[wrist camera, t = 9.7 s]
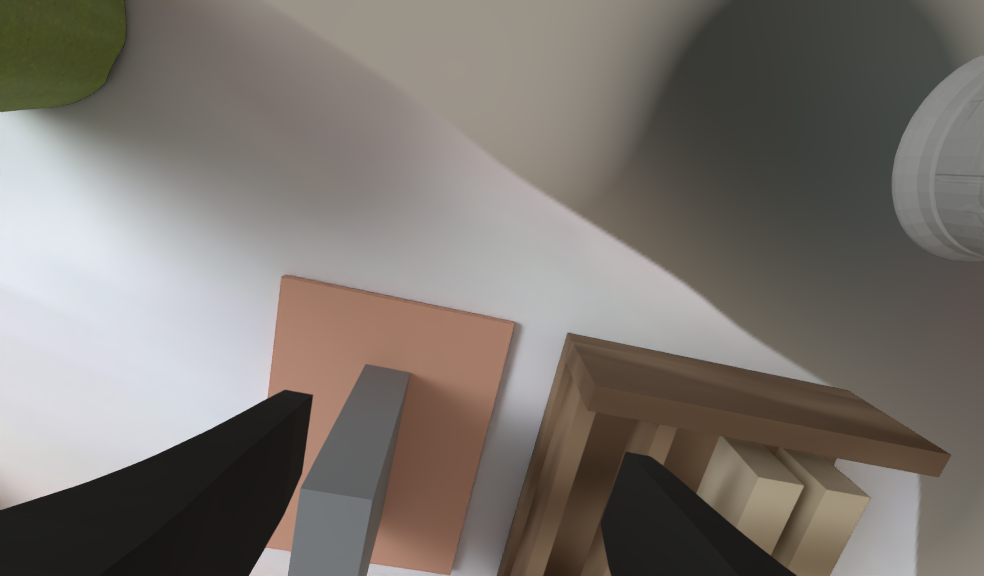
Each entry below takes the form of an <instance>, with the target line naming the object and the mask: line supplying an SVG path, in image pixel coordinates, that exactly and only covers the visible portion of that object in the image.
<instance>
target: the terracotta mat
mask: <svg viewBox="0 0 984 576" xmlns="http://www.w3.org/2000/svg"><path fill="white" fill-rule="evenodd" d="M513 329H514V322H513V321H508V320H503V319H498V318H493V317H489V316H484V315H479V314H474V313H469V312H464V311H459V310H454V309H450V308H445V307H440V306H435V305H430V304H425V303H420V302H416V301H411V300H406V299H401V298H396V297H391V296H386V295H381V294H377V293H372V292H367V291H362V290H357V289H352V288H347V287H343V286H338V285H333V284H328V283H323V282H318V281H313V280H309V279H304V278H299V277H294V276H289V275H284V276H282V277H281V285H280V294H279V303H278V312H277V321H276V329H275V338H274V347H273V356H272V365H271V373H270V382H269V391H268V398H270V397H271V396H273V395H275V394H277V393H279V392H281V391H283V390H290V391H296V392H301V393H307V394H312V395H313V401H312V408H311V415H310V422H309V429H308V436H307V443H306V450H305V457H304V464H303V471H302V475H301V477H300V480H299V482H298V484H297V487H296V489H295V491H294V494H293V496H292V498H291V500H290V503H289V505H288V507H287V509H286V511H285V514H284V516H283V518H282V520H281V521H280V523H279V525H278V527H277V528H276V530H275V532H274V533H273V535H272V537H271V539H270V540H269V542H268V544H267V545H266V547H265V548H272V549H279V550H285V551H291V550H292V543H293V536H294V529H295V522H296V515H297V508H298V501H299V494H300V488H301V486H302V484H303V482H304V480H305V478H306V477H307V475H308V473H309V471H310V469H311V467H312V465H313V463H314V461H315V459H316V457H317V456H318V454H319V452H320V450H321V448H322V446H323V444H324V442H325V440H326V438H327V437H328V435H329V433H330V431H331V429H332V427H333V425H334V423H335V421H336V419H337V417H338V416H339V414H340V412H341V410H342V408H343V406H344V404H345V402H346V400H347V398H348V397H349V395H350V393H351V391H352V389H353V387H354V385H355V383H356V381H357V379H358V377H359V376H360V374H361V372H362V370H363V368H364V366H365V364H369V365H374V366H379V367H385V368H390V369H395V370H400V371H405V372H410V377H409V382H408V387H407V392H406V397H405V402H404V407H403V412H402V417H401V422H400V427H399V432H398V437H397V442H396V447H395V452H394V457H393V462H392V467H391V472H390V477H389V482H388V487H387V492H386V497H385V502H384V507H383V512H382V517H381V521H380V525H379V529H378V533H377V537H376V541H375V545H374V548H373V552H372V556H371V560H370V563H372V564H379V565H385V566H392V567H399V568H405V569H412V570H419V571H425V572H432V573H439V574H445V575H450V574H451V570H452V566H453V562H454V558H455V554H456V550H457V546H458V542H459V539H460V535H461V531H462V527H463V523H464V519H465V515H466V511H467V507H468V504H469V500H470V496H471V492H472V488H473V484H474V480H475V476H476V472H477V469H478V465H479V461H480V457H481V453H482V449H483V445H484V441H485V437H486V434H487V430H488V426H489V422H490V418H491V414H492V410H493V406H494V403H495V399H496V395H497V391H498V387H499V383H500V379H501V375H502V371H503V368H504V364H505V360H506V356H507V352H508V348H509V344H510V340H511V336H512V333H513Z"/></svg>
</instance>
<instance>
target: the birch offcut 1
mask: <svg viewBox="0 0 984 576" xmlns="http://www.w3.org/2000/svg"><path fill="white" fill-rule="evenodd" d="M803 487H804V485H803V484H802V483H801V482H800V481H799V480H798V479H797V478H796V477H795V476H794V475H793V474H792V473H791V472H790V471H789V470H788V469H787V468H786V467H785V466H784V465H783V464H782V463H781V462H780V461H779V460H778V459H777V458H776V457H775V456H774V455H773V454H772V453H771V452H770V451H769V450H768V449H767V448H766V447H765V446H764V445H763V444H761V443H755V442H750V441H745V440H740V439H734V438H729V437H724V436H720V437H719V439H718V441H717V444H716V446H715V449H714V451H713V454H712V456H711V459H710V461H709V464H708V466H707V468H706V471H705V473H704V476H703V478H702V481H701V483H700V486H699V488H698V490H697V493H696V494H697V495H698V496H699V497H701V498H702V499H703V500H704V501H705V502H706V503H708V504H709V505H710V506H711V507H712V508H713V509H714V510H716V511H717V512H718V513H719V514H720V515H721V516H723V517H724V518H725V519H726V520H727V521H729V522H730V523H731V524H732V525H733V526H735V527H736V528H737V529H738V530H739V531H741V532H742V533H743V534H744V535H745V536H747V537H748V538H749V539H750V540H752V541H753V542H754V543H755V544H757V545H758V546H759V547H760V548H762V549H763V550H764V551H765V552H767V553H768V554H769V555H771V554H772V552H773V550H774V548H775V545H776V543H777V541H778V539H779V537H780V535H781V533H782V531H783V529H784V527H785V525H786V523H787V520H788V518H789V516H790V514H791V512H792V510H793V508H794V506H795V504H796V502H797V500H798V497H799V495H800V493H801V491H802V489H803Z"/></svg>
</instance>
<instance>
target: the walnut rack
mask: <svg viewBox="0 0 984 576" xmlns="http://www.w3.org/2000/svg"><path fill="white" fill-rule="evenodd" d="M720 436H724V437H729V438H734V439H740V440H745V441H750V442H755V443H761V444H763V445H764V446H765V447H766V448H767V449H768V450H769V451H770V452H771V453H772V454H773V455H774V456H775V455H776V453H777V451H778V449H779V447H782V448H787V449H792V450H797V451H803V452H808V453H813V454H819V455H822V456H823V457H824V458H825V459H826V460H828V461H829V462H830V463H831V464H832V465H834V463H835V461H836V459H837V458H840V459H845V460H850V461H855V462H861V463H866V464H871V465H877V466H882V467H887V468H892V469H898V470H903V471H908V472H913V473H919V474H925V475H929V476H935V477H939V476H940V474H941V472H942V470H943V469H944V467H945V465H946V463H947V462H948V460H949V458H950V456H951V455H950V454H949V453H947V452H946V451H944V450H942V449H941V448H939V447H938V446H936V445H934V444H933V443H931V442H930V441H928V440H926V439H925V438H923V437H922V436H920V435H919V434H917V433H915V432H914V431H912V430H911V429H909V428H907V427H906V426H904V425H903V424H901V423H899V422H898V421H896V420H895V419H893V418H891V417H890V416H888V415H886V414H885V413H883V412H882V411H880V410H879V409H877V408H875V407H874V406H872V405H871V404H869V403H867V402H866V401H864V400H863V399H861V398H859V397H858V396H856V395H855V394H853V393H851V392H850V391H848V390H843V389H839V388H834V387H829V386H824V385H819V384H815V383H810V382H805V381H800V380H795V379H790V378H785V377H780V376H776V375H771V374H766V373H761V372H756V371H751V370H746V369H742V368H737V367H732V366H727V365H722V364H717V363H712V362H707V361H703V360H698V359H693V358H688V357H683V356H678V355H673V354H669V353H664V352H659V351H654V350H649V349H644V348H639V347H634V346H630V345H625V344H620V343H615V342H610V341H605V340H600V339H596V338H591V337H586V336H581V335H576V334H571V333H567V337H566V340H565V344H564V347H563V350H562V354H561V357H560V361H559V364H558V368H557V371H556V374H555V378H554V381H553V385H552V388H551V392H550V395H549V399H548V402H547V405H546V409H545V412H544V416H543V419H542V423H541V426H540V430H539V433H538V436H537V440H536V443H535V447H534V450H533V454H532V457H531V460H530V464H529V467H528V471H527V474H526V478H525V481H524V485H523V488H522V491H521V495H520V498H519V502H518V505H517V509H516V512H515V516H514V519H513V522H512V526H511V529H510V533H509V536H508V540H507V543H506V546H505V550H504V553H503V557H502V560H501V564H500V567H499V571H498V574H497V576H611V573H610V570H609V566H608V561H607V556H606V552H605V546H604V541H603V535H602V529H601V520H602V517H603V515H604V512H605V509H606V506H607V503H608V500H609V497H610V495H611V492H612V489H613V486H614V483H615V480H616V478H617V475H618V472H619V469H620V466H621V463H622V460H623V458H624V455H625V452H630V453H636V454H641V455H647V456H651V457H652V458H654V459H655V460H656V461H658V462H659V463H660V464H662V465H663V466H664V467H665V468H667V469H668V470H669V471H670V472H672V473H673V474H674V475H675V476H676V477H678V478H679V479H680V480H681V481H682V482H683V483H684V484H686V485H687V486H688V487H689V488H690V489H691V490H693V491H694V492H695V493H697V490H698V488H699V486H700V483H701V481H702V478H703V476H704V473H705V471H706V468H707V466H708V464H709V461H710V459H711V456H712V454H713V451H714V449H715V446H716V444H717V441H718V439H719V437H720Z"/></svg>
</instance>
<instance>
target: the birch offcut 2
mask: <svg viewBox="0 0 984 576" xmlns="http://www.w3.org/2000/svg"><path fill="white" fill-rule="evenodd" d="M775 457H776V458H777V459H778V460H779V461H780V462H781V463H782V464H783V465H784V466H785V467H786V468H787V469H788V470H789V471H790V472H791V473H792V474H793V475H794V476H795V477H796V478H797V479H798V480H799V481H800V482H801V483H802V484H803V485H804V487H803V489H802V491H801V493H800V495H799V497H798V500H797V502H796V504H795V506H794V508H793V510H792V512H791V514H790V516H789V518H788V520H787V523H786V525H785V527H784V529H783V531H782V533H781V535H780V537H779V539H778V541H777V543H776V545H775V548H774V550H773V552H772V554H771V556H772V557H773V558H774V559H776V560H777V561H778V562H779V563H781V564H782V565H783V566H785V567H786V568H787V569H789V570H790V571H791V572H793V573H794V574H795V575H797V576H830V574H831V572H832V570H833V568H834V566H835V565H836V563H837V561H838V559H839V557H840V555H841V553H842V551H843V549H844V547H845V546H846V544H847V542H848V540H849V538H850V536H851V534H852V532H853V530H854V528H855V527H856V525H857V523H858V521H859V519H860V517H861V515H862V513H863V511H864V510H865V508H866V506H867V504H868V502H869V500H870V497H869V496H868V495H867V494H866V493H865V492H864V491H862V490H861V489H860V488H859V487H858V486H857V485H855V484H854V483H853V482H852V481H851V480H850V479H848V478H847V477H846V476H845V475H844V474H843V473H841V472H840V471H839V470H838V469H837V468H836V467H835V466H833V465H832V464H831V463H830V462H829V461H828V460H826V459H825V458H824V457H823V456H822V455H819V454H813V453H808V452H803V451H797V450H792V449H787V448H782V447H779V449H778V451H777V453H776V455H775Z"/></svg>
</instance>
